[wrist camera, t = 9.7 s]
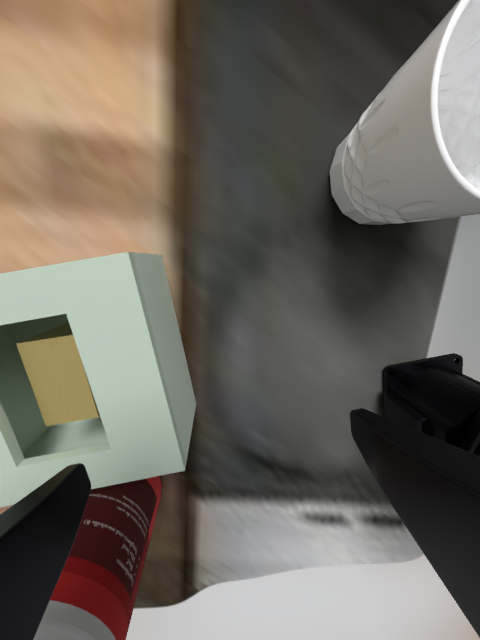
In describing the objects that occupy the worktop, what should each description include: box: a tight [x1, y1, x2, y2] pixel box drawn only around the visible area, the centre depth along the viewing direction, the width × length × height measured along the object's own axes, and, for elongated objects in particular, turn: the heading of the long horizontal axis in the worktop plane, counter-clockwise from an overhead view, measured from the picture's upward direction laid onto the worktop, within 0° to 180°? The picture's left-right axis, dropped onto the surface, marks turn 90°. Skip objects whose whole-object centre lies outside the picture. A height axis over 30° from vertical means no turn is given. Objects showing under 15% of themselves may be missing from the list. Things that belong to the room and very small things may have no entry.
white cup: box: [329, 0, 480, 225], centre depth 14 cm, size 8×8×10 cm
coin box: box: [0, 252, 196, 507], centre depth 16 cm, size 12×12×7 cm
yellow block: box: [16, 322, 100, 426], centre depth 17 cm, size 3×5×5 cm, turn 8°
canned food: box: [33, 476, 161, 640], centre depth 17 cm, size 8×8×11 cm
